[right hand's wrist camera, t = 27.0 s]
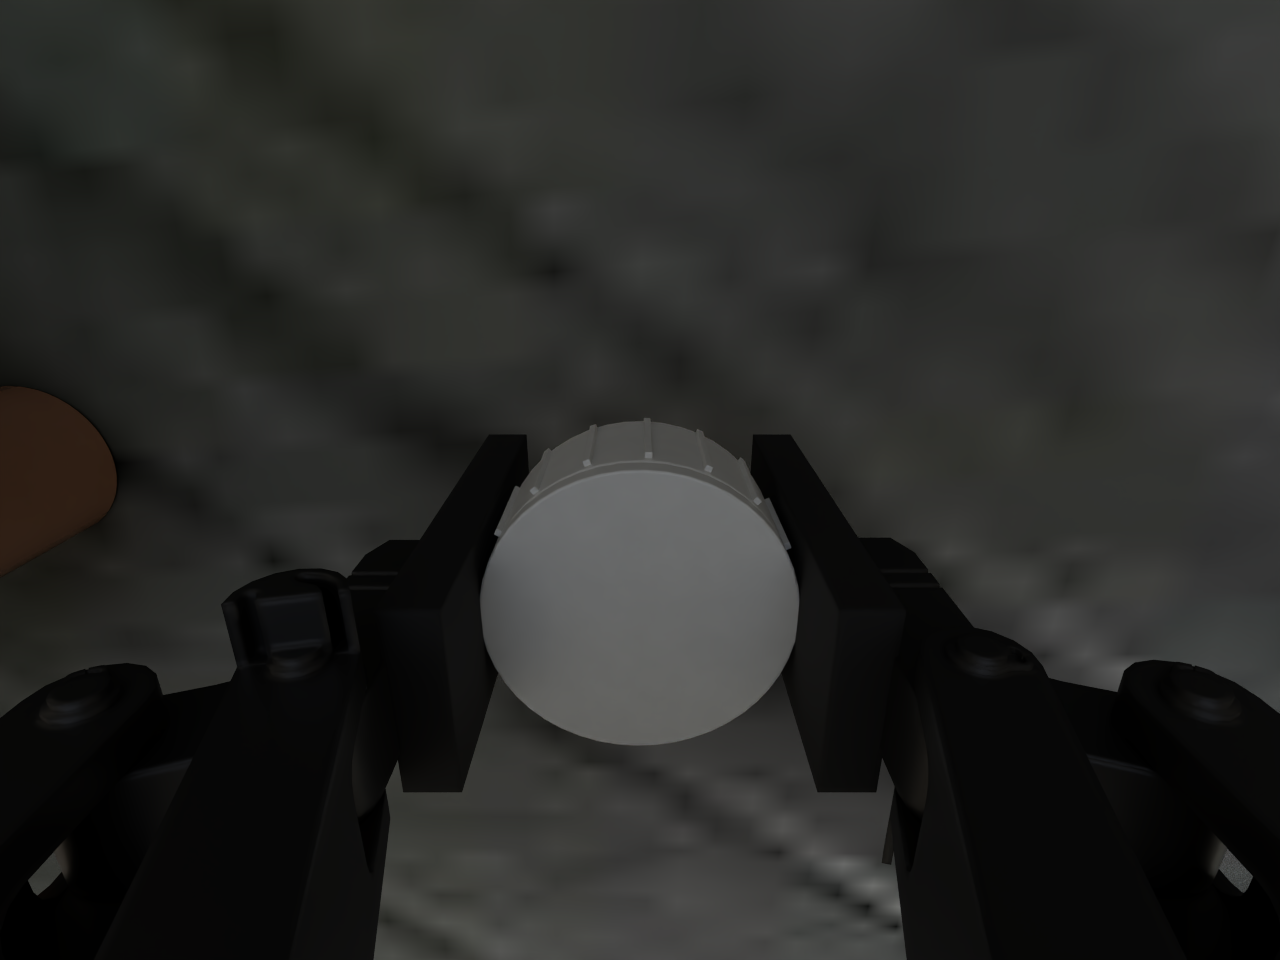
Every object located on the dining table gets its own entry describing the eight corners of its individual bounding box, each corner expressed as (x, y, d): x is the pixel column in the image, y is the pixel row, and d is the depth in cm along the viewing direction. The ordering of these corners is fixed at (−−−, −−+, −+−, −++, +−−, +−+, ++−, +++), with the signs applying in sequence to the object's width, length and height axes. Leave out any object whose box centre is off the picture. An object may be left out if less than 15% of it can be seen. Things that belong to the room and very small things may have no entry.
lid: (563, 367, 11) (545, 407, 9) (826, 482, 12) (869, 545, 10) (465, 605, 13) (429, 688, 10) (702, 692, 13) (715, 786, 11)
